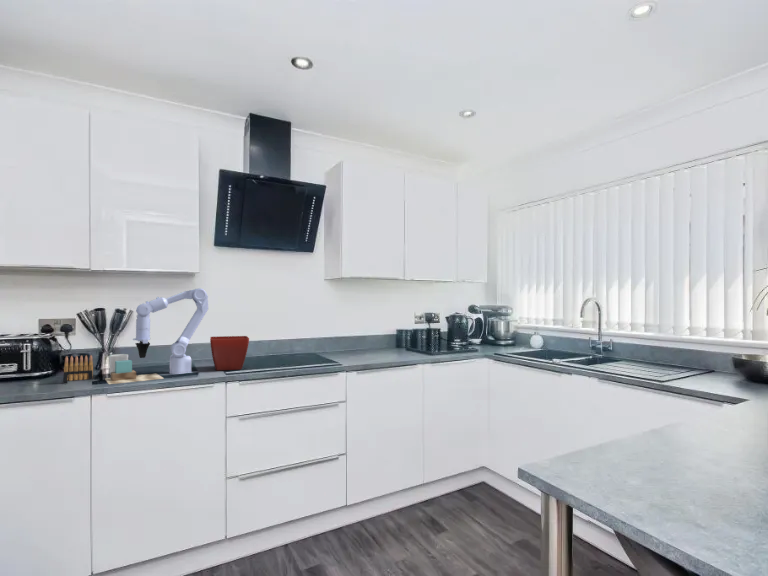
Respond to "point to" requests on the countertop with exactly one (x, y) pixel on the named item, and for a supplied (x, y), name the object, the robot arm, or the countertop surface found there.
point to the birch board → (138, 378)
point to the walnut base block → (123, 376)
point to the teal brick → (123, 366)
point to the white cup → (115, 358)
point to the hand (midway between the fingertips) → (142, 357)
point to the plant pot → (229, 351)
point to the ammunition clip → (78, 369)
